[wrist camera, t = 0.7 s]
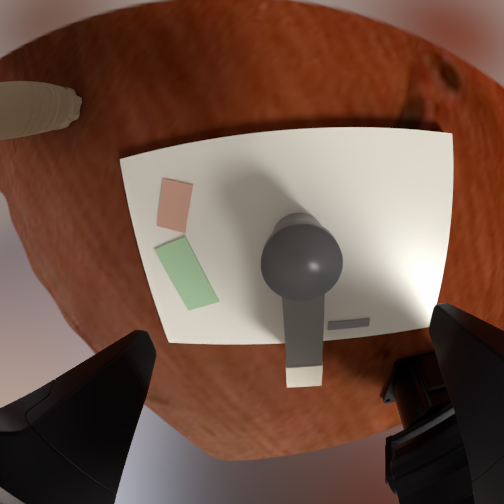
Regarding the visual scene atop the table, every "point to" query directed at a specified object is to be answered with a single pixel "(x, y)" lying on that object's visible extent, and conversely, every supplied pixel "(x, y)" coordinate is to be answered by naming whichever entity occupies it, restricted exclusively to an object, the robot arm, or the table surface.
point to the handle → (35, 108)
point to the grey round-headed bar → (302, 290)
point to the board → (285, 203)
